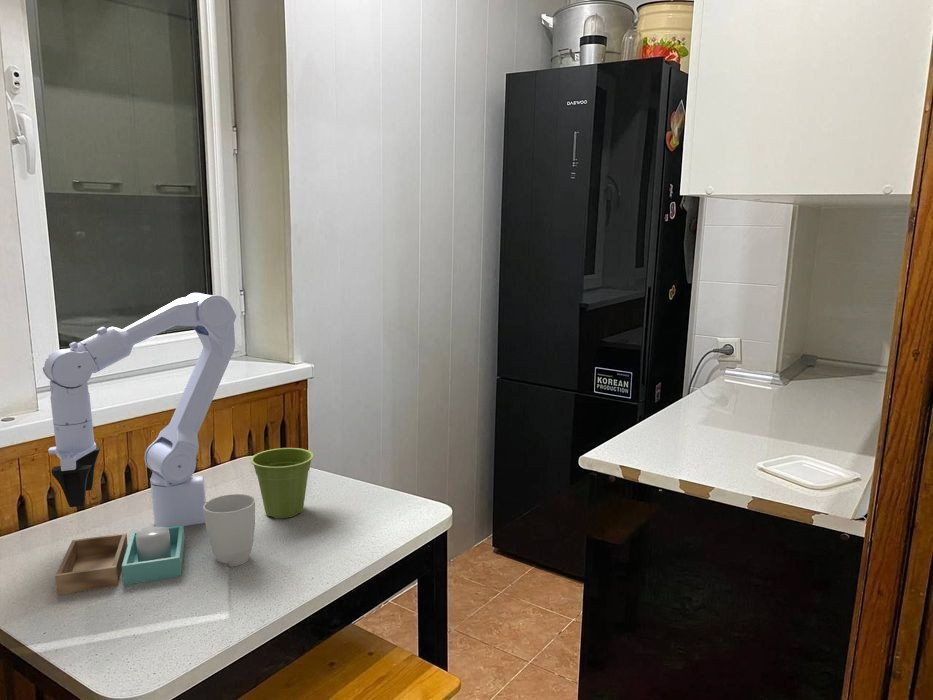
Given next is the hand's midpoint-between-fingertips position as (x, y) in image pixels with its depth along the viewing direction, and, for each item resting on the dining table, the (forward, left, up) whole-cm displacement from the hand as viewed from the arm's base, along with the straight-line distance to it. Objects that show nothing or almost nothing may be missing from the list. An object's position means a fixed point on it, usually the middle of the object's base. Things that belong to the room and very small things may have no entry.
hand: (81, 497), depth 121 cm
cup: (-24, +13, -10) cm, 29 cm away
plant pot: (-34, -5, -10) cm, 36 cm away
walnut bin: (-3, +11, -9) cm, 15 cm away
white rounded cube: (-12, +11, -9) cm, 18 cm away
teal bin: (-12, +11, -9) cm, 19 cm away
